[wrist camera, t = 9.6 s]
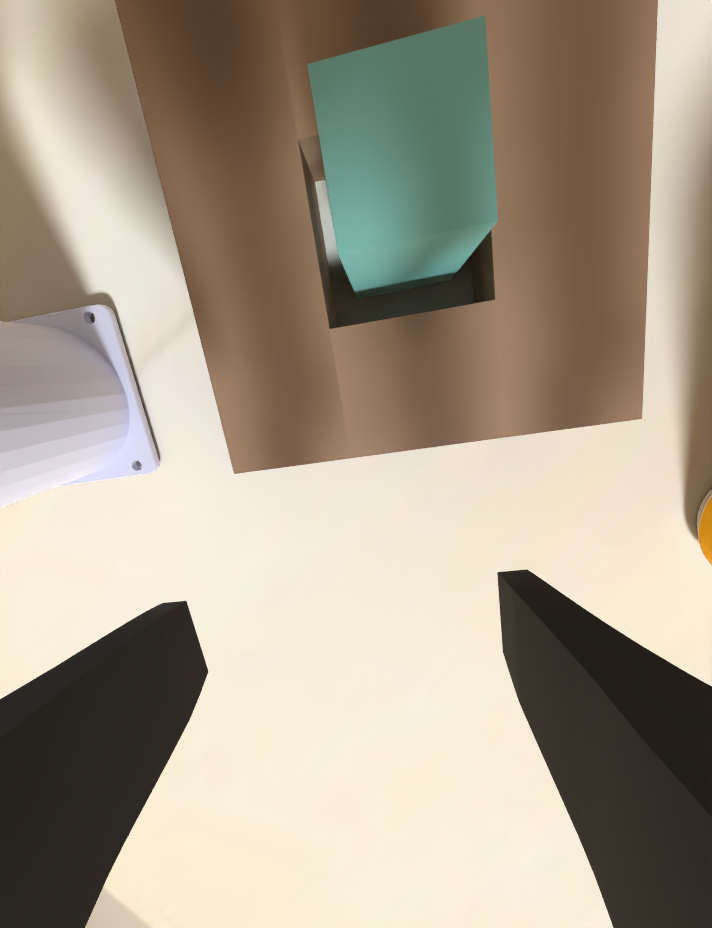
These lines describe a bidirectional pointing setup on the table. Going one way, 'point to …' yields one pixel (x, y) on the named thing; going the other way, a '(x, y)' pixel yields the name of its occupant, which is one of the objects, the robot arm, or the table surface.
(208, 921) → the table surface
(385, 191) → the teal peg
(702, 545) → the beer can
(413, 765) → the table surface
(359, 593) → the table surface
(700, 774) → the robot arm
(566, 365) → the holder block
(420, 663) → the table surface
